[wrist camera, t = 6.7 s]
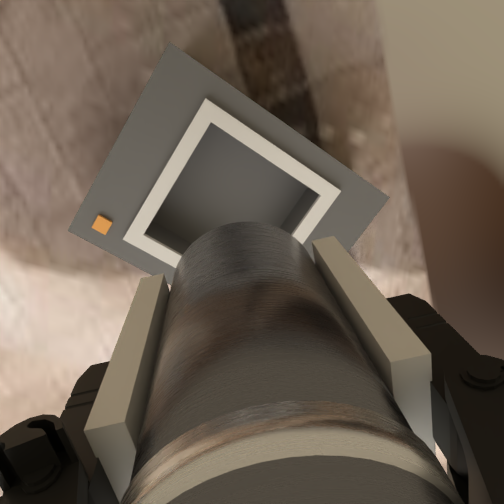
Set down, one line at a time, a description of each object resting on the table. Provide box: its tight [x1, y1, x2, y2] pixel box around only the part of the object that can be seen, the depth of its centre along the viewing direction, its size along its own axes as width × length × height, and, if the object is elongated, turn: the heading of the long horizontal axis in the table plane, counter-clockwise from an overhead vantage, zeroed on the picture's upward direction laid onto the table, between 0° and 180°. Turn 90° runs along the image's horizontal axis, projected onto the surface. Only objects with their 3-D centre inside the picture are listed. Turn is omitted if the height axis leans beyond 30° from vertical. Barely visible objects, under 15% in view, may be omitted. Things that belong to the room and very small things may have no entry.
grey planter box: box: [68, 42, 390, 286], centre depth 26 cm, size 14×11×8 cm
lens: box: [120, 221, 465, 504], centre depth 10 cm, size 5×5×10 cm
